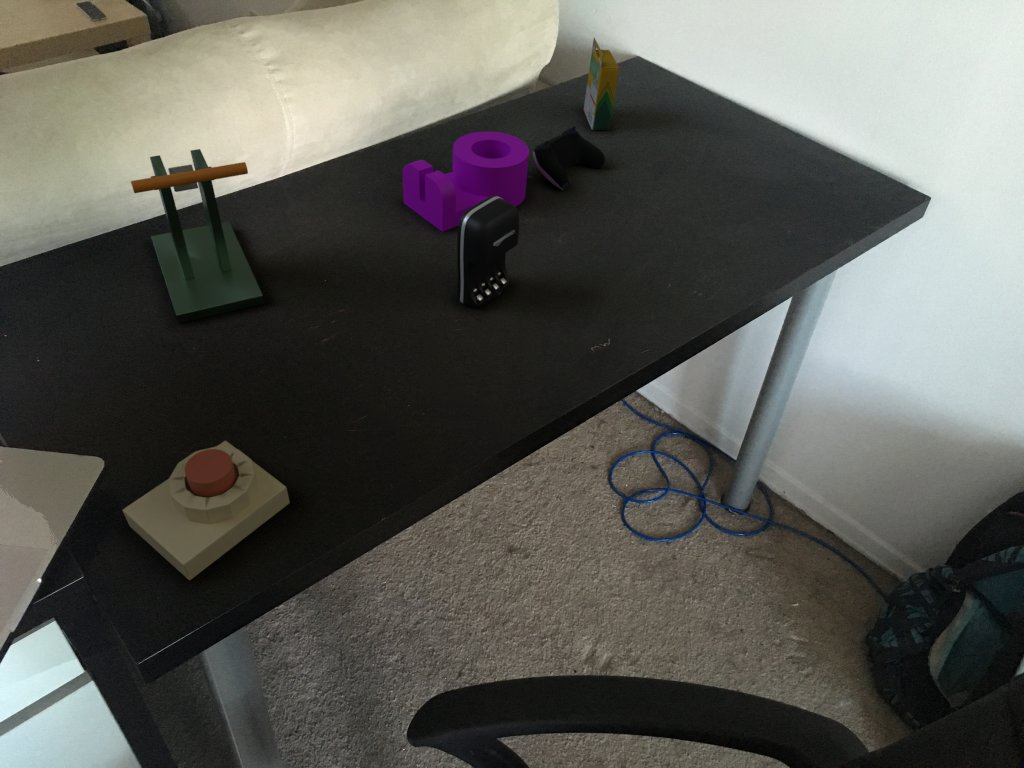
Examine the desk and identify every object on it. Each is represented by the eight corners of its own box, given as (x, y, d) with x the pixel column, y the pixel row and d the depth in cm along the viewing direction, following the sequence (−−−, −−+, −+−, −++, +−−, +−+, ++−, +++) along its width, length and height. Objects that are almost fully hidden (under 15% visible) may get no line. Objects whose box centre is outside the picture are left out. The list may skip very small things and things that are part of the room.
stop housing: (189, 581, 61) (177, 551, 58) (129, 526, 64) (115, 495, 62) (290, 503, 67) (283, 472, 64) (230, 456, 70) (221, 425, 68)
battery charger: (480, 316, 87) (484, 227, 79) (454, 302, 89) (455, 213, 81) (519, 288, 91) (526, 201, 83) (493, 275, 93) (498, 188, 85)
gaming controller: (589, 174, 116) (566, 131, 115) (610, 161, 113) (586, 117, 112) (546, 200, 110) (520, 155, 109) (567, 188, 106) (540, 141, 105)
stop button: (208, 504, 62) (203, 490, 61) (180, 481, 64) (175, 467, 62) (245, 477, 64) (241, 464, 63) (217, 456, 66) (213, 442, 64)
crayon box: (610, 131, 122) (622, 55, 114) (591, 131, 122) (602, 55, 114) (601, 110, 127) (611, 37, 119) (583, 110, 127) (592, 36, 119)
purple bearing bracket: (493, 167, 112) (495, 125, 107) (540, 196, 106) (544, 154, 102) (400, 200, 104) (398, 156, 99) (446, 234, 98) (446, 189, 94)
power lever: (250, 180, 73) (243, 154, 73) (136, 201, 70) (128, 173, 69) (233, 181, 85) (227, 158, 84) (135, 198, 81) (127, 175, 80)
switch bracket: (264, 304, 86) (242, 192, 77) (178, 324, 83) (145, 209, 73) (230, 229, 96) (207, 122, 87) (153, 244, 93) (120, 135, 83)
